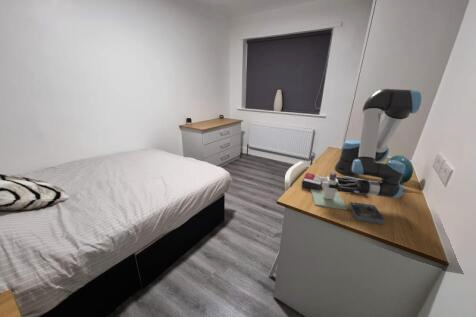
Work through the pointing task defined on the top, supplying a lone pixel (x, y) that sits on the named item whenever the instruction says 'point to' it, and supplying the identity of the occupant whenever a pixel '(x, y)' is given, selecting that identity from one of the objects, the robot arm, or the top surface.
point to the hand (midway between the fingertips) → (321, 181)
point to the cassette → (353, 178)
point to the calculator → (312, 181)
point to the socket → (359, 216)
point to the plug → (330, 192)
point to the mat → (327, 200)
